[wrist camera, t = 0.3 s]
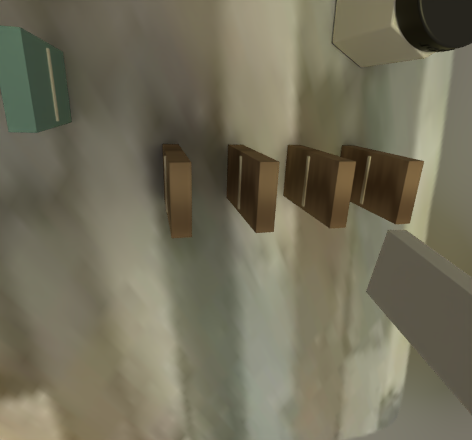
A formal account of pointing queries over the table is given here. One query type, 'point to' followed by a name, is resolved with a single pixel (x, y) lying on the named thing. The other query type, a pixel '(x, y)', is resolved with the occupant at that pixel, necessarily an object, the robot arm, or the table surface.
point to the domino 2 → (253, 186)
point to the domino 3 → (319, 184)
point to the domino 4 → (384, 182)
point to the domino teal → (32, 82)
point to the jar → (400, 29)
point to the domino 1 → (177, 190)
